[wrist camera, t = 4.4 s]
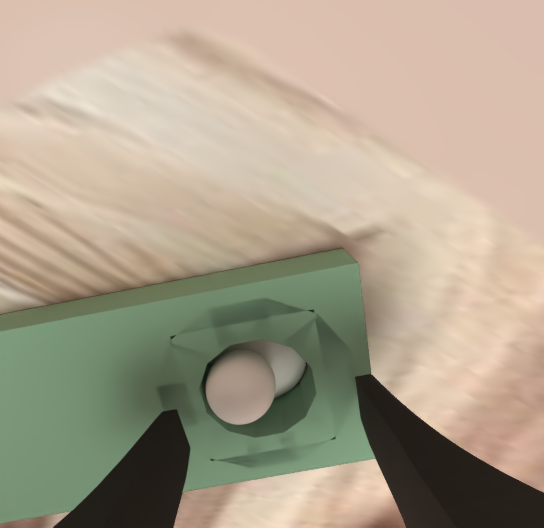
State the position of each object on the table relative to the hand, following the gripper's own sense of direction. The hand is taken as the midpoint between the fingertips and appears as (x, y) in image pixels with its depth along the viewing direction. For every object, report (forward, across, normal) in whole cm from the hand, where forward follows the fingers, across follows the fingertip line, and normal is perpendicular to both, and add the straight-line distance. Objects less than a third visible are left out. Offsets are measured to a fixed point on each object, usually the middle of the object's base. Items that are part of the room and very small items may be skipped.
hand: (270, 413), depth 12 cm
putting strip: (+4, +8, 0) cm, 8 cm away
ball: (+2, +1, 0) cm, 2 cm away
